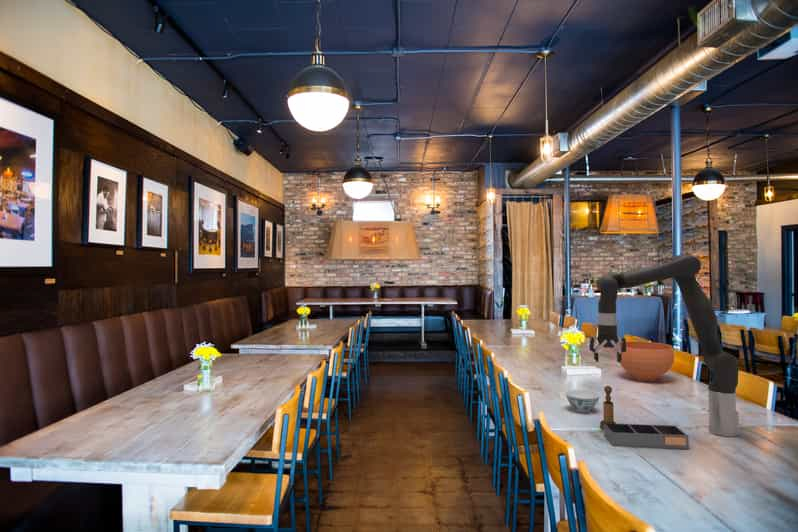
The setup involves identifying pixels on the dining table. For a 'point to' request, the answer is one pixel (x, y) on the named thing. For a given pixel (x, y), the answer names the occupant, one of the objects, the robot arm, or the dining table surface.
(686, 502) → the dining table surface
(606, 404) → the brown turned rounded post
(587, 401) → the chinaware
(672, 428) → the rack
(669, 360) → the bowl
